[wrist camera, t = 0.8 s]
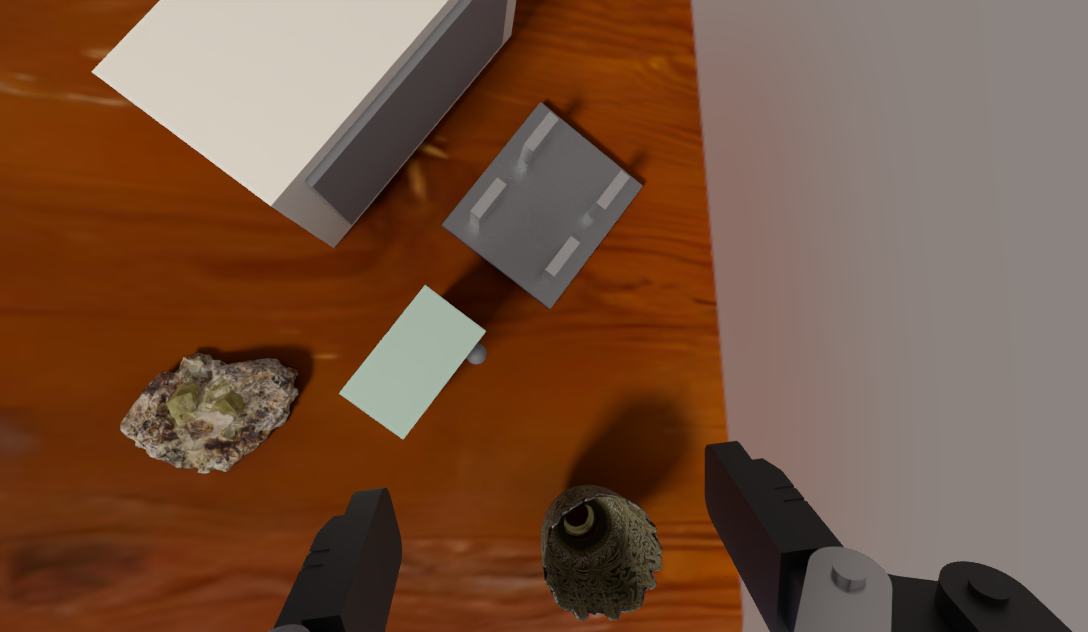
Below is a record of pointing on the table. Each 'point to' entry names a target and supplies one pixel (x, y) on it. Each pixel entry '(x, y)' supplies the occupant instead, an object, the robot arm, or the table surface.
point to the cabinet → (307, 89)
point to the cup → (599, 553)
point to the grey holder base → (542, 206)
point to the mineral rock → (211, 411)
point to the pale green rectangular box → (414, 362)
